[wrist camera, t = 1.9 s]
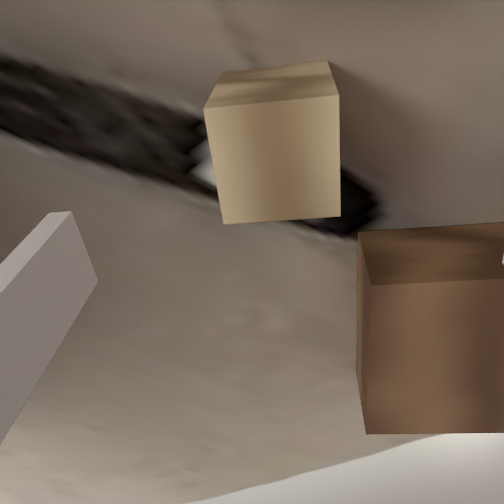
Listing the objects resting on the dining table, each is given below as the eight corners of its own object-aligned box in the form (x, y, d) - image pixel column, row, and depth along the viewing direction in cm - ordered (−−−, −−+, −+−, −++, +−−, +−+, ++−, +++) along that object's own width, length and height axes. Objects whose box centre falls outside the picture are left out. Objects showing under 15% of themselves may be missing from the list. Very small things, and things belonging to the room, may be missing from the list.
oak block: (236, 168, 24) (223, 224, 20) (222, 72, 22) (203, 108, 17) (329, 160, 24) (340, 216, 19) (327, 60, 21) (338, 94, 16)
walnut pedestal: (356, 372, 33) (366, 434, 29) (358, 231, 26) (371, 285, 22) (532, 367, 31) (570, 431, 27) (581, 217, 25) (641, 271, 20)
